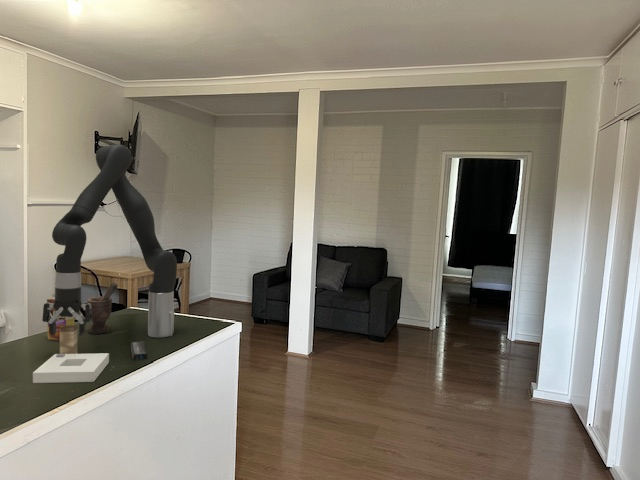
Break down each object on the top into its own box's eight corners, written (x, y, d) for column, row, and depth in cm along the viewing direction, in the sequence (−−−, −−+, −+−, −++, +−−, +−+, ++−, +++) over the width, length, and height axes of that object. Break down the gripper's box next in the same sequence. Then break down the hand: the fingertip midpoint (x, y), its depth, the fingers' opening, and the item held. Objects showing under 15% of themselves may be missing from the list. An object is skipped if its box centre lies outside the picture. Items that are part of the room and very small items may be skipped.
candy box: (46, 339, 169) (46, 298, 167) (56, 336, 173) (56, 296, 171) (65, 343, 166) (65, 301, 165) (75, 339, 170) (75, 298, 169)
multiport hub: (143, 347, 167) (143, 340, 166) (147, 360, 153) (147, 353, 153) (130, 348, 165) (130, 342, 164) (133, 361, 152) (133, 354, 151)
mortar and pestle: (122, 329, 186) (123, 280, 184) (115, 335, 178) (115, 283, 176) (92, 328, 185) (92, 279, 183) (83, 334, 176) (83, 283, 175)
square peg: (77, 354, 155) (77, 325, 154) (73, 358, 151) (73, 328, 150) (64, 354, 154) (64, 325, 153) (59, 359, 150) (59, 328, 149)
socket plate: (108, 362, 149) (108, 351, 149) (93, 381, 133) (93, 369, 133) (54, 363, 146) (54, 352, 146) (32, 383, 130) (32, 370, 130)
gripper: (95, 284, 155) (94, 331, 156) (49, 283, 153) (48, 331, 154) (87, 288, 148) (86, 338, 149) (39, 287, 145) (38, 337, 147)
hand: (67, 334), depth 152 cm, fingers open, 8 cm apart
